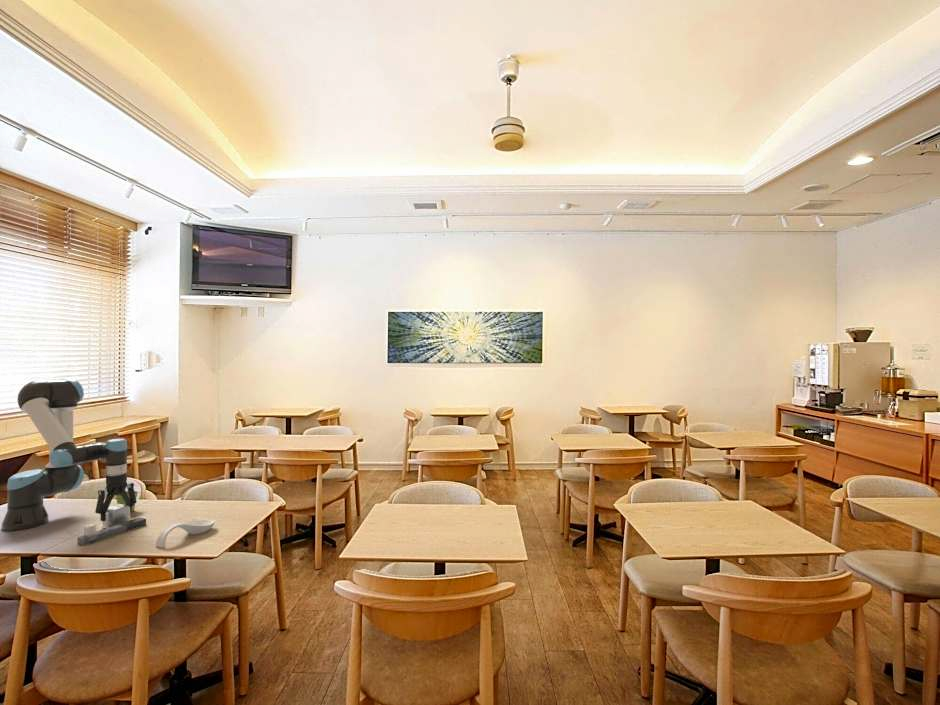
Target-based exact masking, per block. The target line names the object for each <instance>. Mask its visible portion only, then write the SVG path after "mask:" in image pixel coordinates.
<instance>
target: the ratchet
mask: <svg viewBox="0 0 940 705" xmlns="http://www.w3.org/2000/svg"><path fill="white" fill-rule="evenodd" d="M143 526H147V518H144V517H140V516H139V517H135V518H133V519H130V520H129V521H126V522H123V523H120V524H118V525H115V526H112V527H108V528H102V529H100V530H97V531H96V528H97V525H96V524H94V523H93V524H92V523H90V524H87V525H85V526H83V535H81V536H78V537H77V544H78V545H82V546H87V545H91V544H94V543H96V542H99V541H103V540H105V539H107V538H111V537H113V536H116V535H119V534H122V533H126V532H129V531H131V530H134V529H138V528H140V527H143Z"/></svg>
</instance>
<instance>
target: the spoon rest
mask: <svg viewBox="0 0 940 705" xmlns="http://www.w3.org/2000/svg"><path fill="white" fill-rule="evenodd" d="M215 523H216V521H215V520H213V519H197V520H192V521H187V522H186V521H185V522H176V523H171V524H169V525H168V526H167V527H164V529H163V530H162V531H161V532H160V533H159V535H158V537H157V538H156V542H155V547H156V548H162V549H165V548H166V540H167V537H168V535H169V534H170V533H171V532H172V531H173V530H174V529H176V528H180V529H182V530H183V531H185V532H186V533H188V534H190V535H192V536H194V535H195V536H196V535H200V534H204V533H206V532H208V531H209V530H210V529H212V527H214V525H215Z"/></svg>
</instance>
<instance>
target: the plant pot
mask: <svg viewBox="0 0 940 705" xmlns="http://www.w3.org/2000/svg"><path fill="white" fill-rule="evenodd" d="M126 492H127V495H128V497H129V493H128V490H127V491H126ZM134 492H135V497H136V498H137V497H138V494H139V491H138V490H134ZM114 497H115V500H116V505H117V504H123V505H126V503H125V502H124V500H123V498H122V496H121V495H120V494H117V495H115V496H114ZM129 499H130V498H129ZM135 507H136V503H135V504H134V505H133V506H132V512H134V511H135Z"/></svg>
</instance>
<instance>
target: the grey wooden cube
mask: <svg viewBox="0 0 940 705" xmlns="http://www.w3.org/2000/svg"><path fill="white" fill-rule="evenodd" d="M106 513H108V528H109V527H112V526H115V525H118V524H120V523H123V522H126V521H129V506H128V505H123V504H117V503H116V504H114V505H109V507H108V510H107V512H106Z"/></svg>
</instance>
